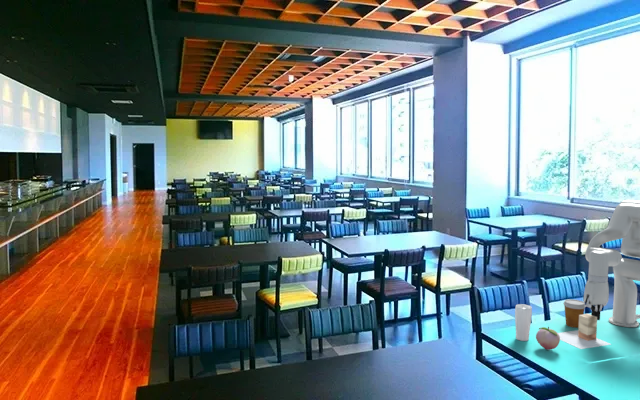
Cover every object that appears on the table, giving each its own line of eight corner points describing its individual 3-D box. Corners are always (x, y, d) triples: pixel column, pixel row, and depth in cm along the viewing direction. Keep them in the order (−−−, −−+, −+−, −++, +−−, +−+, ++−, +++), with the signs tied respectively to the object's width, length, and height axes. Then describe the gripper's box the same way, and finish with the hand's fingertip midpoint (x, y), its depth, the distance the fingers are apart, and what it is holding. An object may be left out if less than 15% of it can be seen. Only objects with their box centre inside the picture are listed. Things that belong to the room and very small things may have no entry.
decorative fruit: (564, 351, 210) (565, 327, 209) (552, 355, 205) (554, 331, 204) (543, 344, 217) (544, 321, 216) (531, 348, 213) (532, 325, 212)
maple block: (586, 335, 226) (587, 313, 225) (596, 339, 222) (597, 317, 221) (578, 336, 225) (579, 314, 224) (587, 340, 220) (588, 318, 219)
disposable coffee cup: (588, 330, 235) (590, 305, 234) (568, 329, 235) (569, 304, 234) (578, 323, 244) (579, 299, 243) (558, 323, 245) (559, 298, 243)
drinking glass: (532, 339, 223) (534, 306, 222) (527, 343, 218) (528, 309, 217) (517, 335, 228) (519, 303, 226) (511, 339, 223) (512, 306, 221)
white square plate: (577, 331, 233) (577, 330, 233) (611, 345, 216) (611, 344, 216) (548, 335, 228) (548, 334, 227) (580, 350, 211) (580, 349, 211)
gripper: (603, 275, 228) (601, 315, 230) (577, 277, 223) (575, 318, 225) (618, 279, 221) (615, 320, 223) (591, 282, 216) (589, 323, 218)
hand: (595, 319), depth 224 cm, fingers closed
